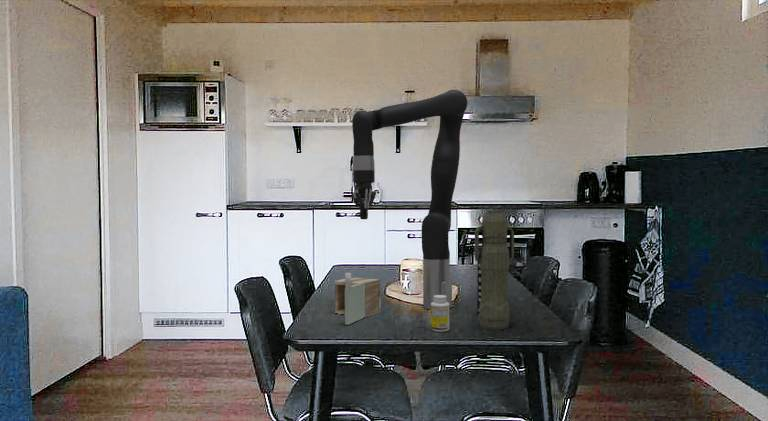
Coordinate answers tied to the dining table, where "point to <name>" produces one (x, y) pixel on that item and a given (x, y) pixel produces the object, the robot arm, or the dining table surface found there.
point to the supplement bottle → (440, 314)
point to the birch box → (370, 295)
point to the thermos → (494, 269)
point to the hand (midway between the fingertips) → (364, 219)
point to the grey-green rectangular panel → (354, 300)
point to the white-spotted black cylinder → (478, 287)
